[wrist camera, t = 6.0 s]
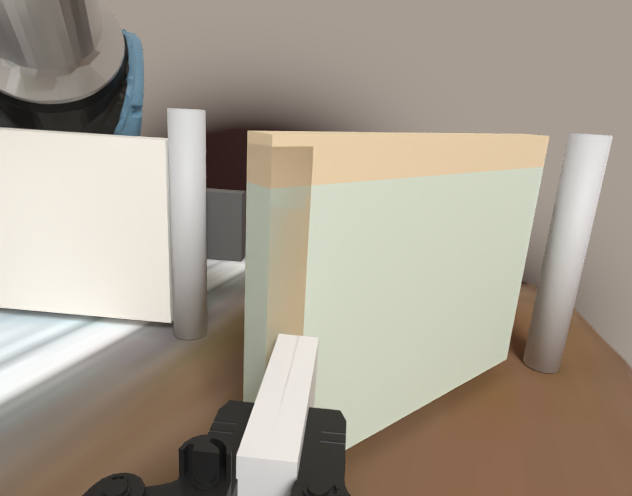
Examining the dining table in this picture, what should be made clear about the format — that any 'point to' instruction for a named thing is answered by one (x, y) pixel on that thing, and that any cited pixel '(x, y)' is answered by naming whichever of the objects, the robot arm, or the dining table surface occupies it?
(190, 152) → the fence
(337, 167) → the gate
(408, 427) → the dining table surface
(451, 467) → the dining table surface
